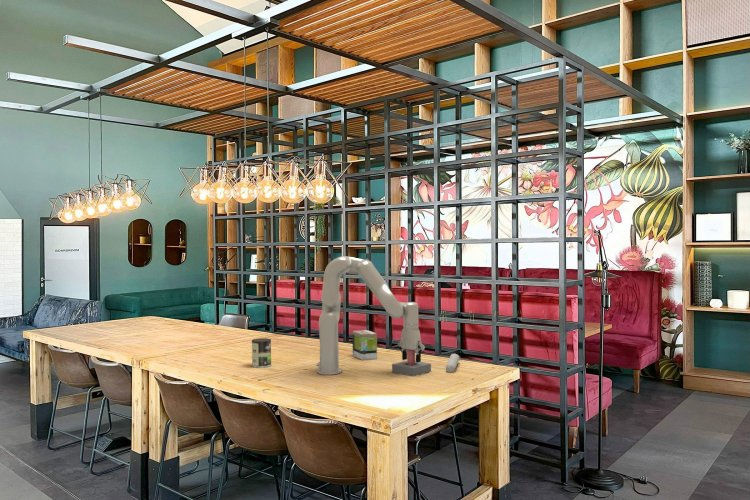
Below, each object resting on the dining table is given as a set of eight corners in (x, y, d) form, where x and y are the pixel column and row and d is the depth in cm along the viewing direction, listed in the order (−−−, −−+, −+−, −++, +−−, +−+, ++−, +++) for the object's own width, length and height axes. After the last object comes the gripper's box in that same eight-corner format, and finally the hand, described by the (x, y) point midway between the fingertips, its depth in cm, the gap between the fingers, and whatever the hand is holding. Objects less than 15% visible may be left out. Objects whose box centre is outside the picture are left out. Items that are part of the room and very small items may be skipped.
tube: (456, 365, 288) (460, 355, 313) (446, 362, 290) (451, 352, 314) (453, 375, 289) (457, 364, 313) (443, 371, 290) (448, 361, 314)
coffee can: (274, 364, 316) (273, 338, 315) (267, 368, 305) (266, 341, 305) (256, 363, 318) (256, 337, 317) (248, 367, 307) (248, 341, 307)
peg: (405, 371, 293) (405, 348, 292) (410, 370, 296) (410, 347, 295) (411, 373, 290) (411, 349, 290) (416, 371, 293) (416, 348, 293)
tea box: (377, 359, 326) (377, 332, 325) (361, 360, 322) (360, 334, 322) (368, 354, 340) (367, 329, 339) (352, 355, 336) (351, 330, 336)
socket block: (392, 372, 292) (392, 364, 292) (409, 367, 303) (409, 359, 303) (413, 376, 283) (413, 368, 283) (430, 371, 293) (430, 363, 293)
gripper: (393, 326, 296) (393, 359, 296) (419, 329, 284) (420, 364, 284) (402, 324, 301) (403, 357, 301) (429, 327, 289) (429, 362, 289)
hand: (411, 360), depth 293 cm, fingers open, 8 cm apart
